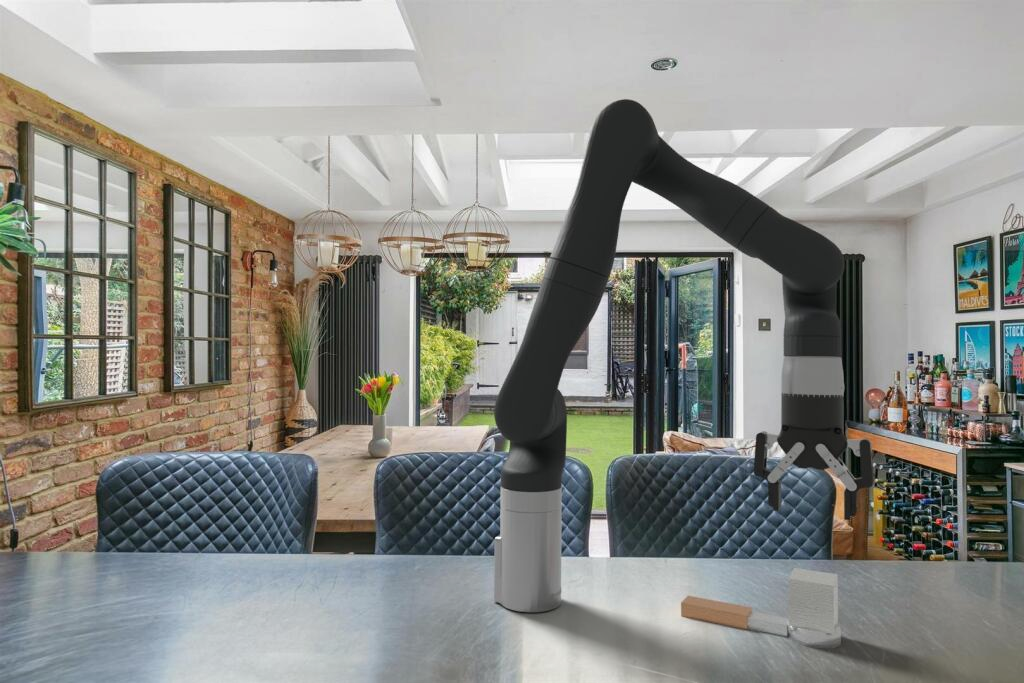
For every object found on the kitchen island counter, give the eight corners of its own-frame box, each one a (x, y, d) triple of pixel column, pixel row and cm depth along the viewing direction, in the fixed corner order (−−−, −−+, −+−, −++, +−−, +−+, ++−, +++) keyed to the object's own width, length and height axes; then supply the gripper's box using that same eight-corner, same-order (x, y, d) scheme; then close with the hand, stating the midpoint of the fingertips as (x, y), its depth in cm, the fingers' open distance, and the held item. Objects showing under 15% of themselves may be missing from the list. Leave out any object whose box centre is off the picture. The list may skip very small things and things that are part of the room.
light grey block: (788, 625, 85) (788, 578, 86) (794, 612, 90) (794, 567, 90) (834, 634, 83) (833, 585, 83) (838, 620, 87) (837, 574, 87)
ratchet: (677, 619, 92) (677, 583, 93) (690, 605, 98) (690, 571, 98) (838, 653, 82) (837, 612, 82) (843, 635, 87) (842, 596, 88)
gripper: (750, 390, 88) (749, 513, 87) (871, 394, 81) (872, 528, 80) (761, 388, 94) (760, 503, 94) (874, 392, 87) (874, 516, 86)
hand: (811, 514), depth 87 cm, fingers open, 8 cm apart
